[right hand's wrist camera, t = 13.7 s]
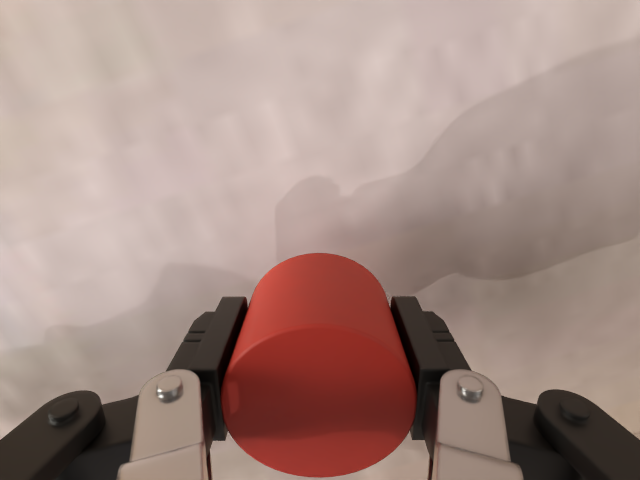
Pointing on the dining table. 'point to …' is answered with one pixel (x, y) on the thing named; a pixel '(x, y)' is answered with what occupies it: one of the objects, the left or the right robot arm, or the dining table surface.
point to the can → (318, 371)
